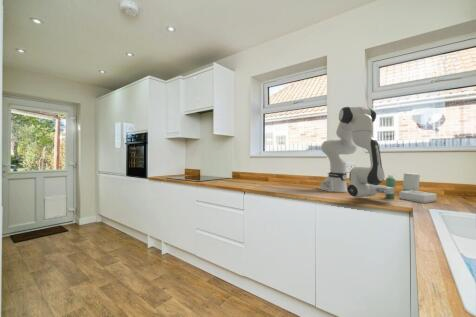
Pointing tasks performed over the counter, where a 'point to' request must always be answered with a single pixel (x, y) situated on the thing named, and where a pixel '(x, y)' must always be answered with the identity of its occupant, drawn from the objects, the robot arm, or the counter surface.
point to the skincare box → (411, 182)
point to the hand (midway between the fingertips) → (383, 187)
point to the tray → (417, 196)
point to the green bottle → (390, 183)
